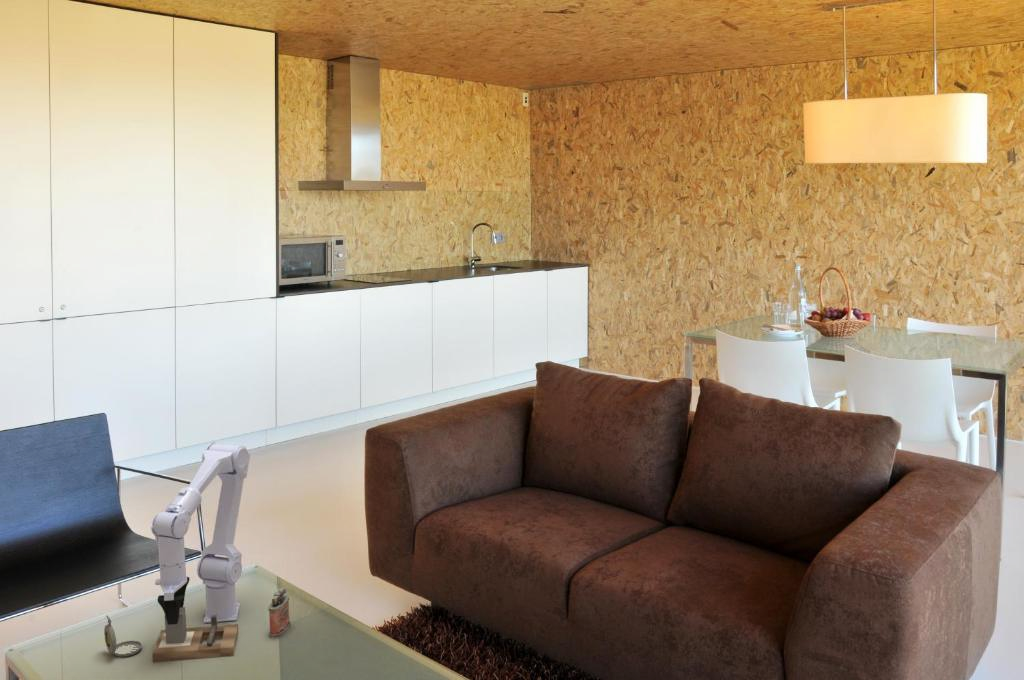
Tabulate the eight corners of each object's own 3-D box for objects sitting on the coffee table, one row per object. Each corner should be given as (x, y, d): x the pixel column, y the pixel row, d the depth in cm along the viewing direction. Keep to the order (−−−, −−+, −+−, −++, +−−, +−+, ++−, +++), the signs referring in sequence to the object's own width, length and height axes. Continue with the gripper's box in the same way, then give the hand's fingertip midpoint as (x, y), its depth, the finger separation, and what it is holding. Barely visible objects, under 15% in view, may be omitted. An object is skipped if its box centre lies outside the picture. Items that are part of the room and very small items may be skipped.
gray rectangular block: (186, 634, 229) (185, 607, 228) (184, 642, 225) (182, 614, 224) (169, 636, 229) (167, 608, 228) (166, 643, 225) (164, 615, 224)
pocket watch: (148, 647, 228) (145, 607, 226) (123, 663, 220) (120, 622, 218) (120, 641, 230) (117, 602, 229) (94, 657, 223) (91, 617, 221)
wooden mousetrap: (161, 637, 232) (160, 618, 232) (238, 631, 236) (237, 612, 235) (152, 661, 221) (151, 641, 220) (233, 655, 224) (232, 635, 223)
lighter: (279, 638, 232) (277, 599, 231) (266, 637, 233) (264, 598, 231) (293, 623, 240) (291, 586, 238) (280, 622, 241) (279, 584, 239)
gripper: (159, 551, 230) (163, 604, 232) (148, 575, 216) (152, 631, 218) (190, 549, 231) (193, 602, 234) (181, 573, 217) (184, 629, 220)
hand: (175, 616), depth 226 cm, fingers open, 7 cm apart
